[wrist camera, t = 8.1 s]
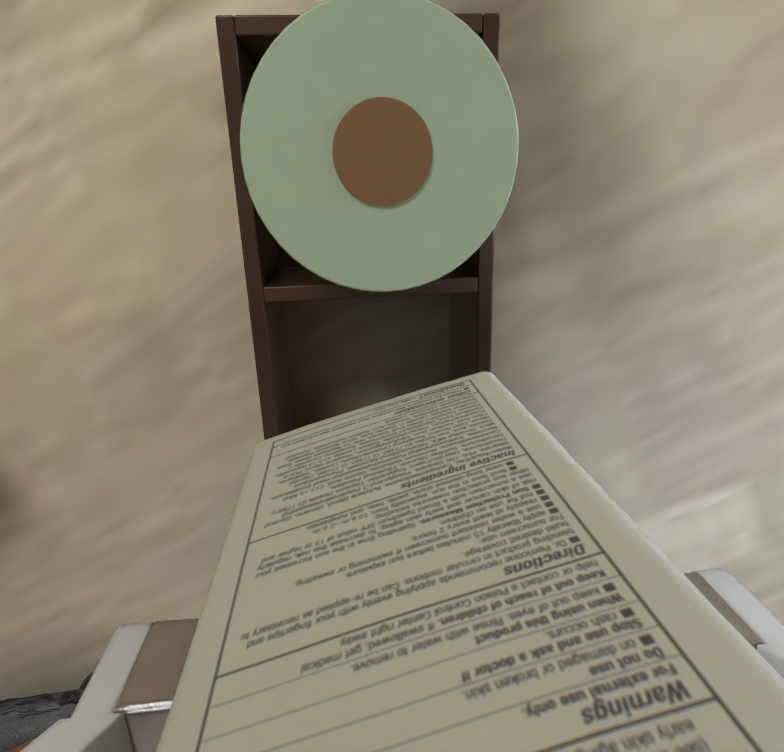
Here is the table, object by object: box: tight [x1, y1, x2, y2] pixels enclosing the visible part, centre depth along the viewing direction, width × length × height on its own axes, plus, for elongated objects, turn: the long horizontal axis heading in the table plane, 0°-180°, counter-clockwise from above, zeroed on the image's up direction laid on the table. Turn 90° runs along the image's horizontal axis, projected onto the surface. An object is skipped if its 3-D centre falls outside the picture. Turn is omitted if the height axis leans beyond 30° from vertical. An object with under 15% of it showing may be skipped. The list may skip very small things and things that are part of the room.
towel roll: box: [240, 0, 519, 292], centre depth 16 cm, size 6×6×11 cm
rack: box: [216, 13, 500, 440], centre depth 21 cm, size 8×23×5 cm, turn 2°
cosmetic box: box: [156, 371, 784, 752], centre depth 8 cm, size 6×4×12 cm
